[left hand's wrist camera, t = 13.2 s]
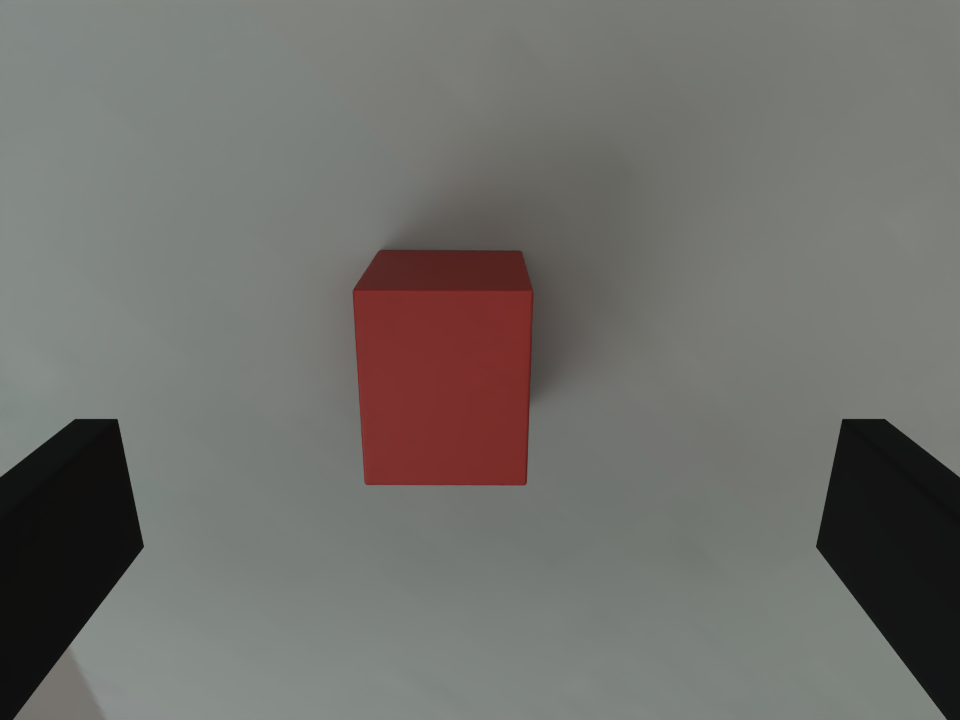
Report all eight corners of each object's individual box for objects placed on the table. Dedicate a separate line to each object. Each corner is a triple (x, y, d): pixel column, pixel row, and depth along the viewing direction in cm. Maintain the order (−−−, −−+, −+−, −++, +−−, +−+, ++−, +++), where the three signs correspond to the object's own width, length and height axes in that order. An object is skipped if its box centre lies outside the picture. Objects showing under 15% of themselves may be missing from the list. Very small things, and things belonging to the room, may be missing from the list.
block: (521, 250, 19) (533, 290, 15) (517, 412, 21) (526, 486, 17) (378, 249, 19) (352, 289, 15) (385, 412, 21) (364, 485, 17)
